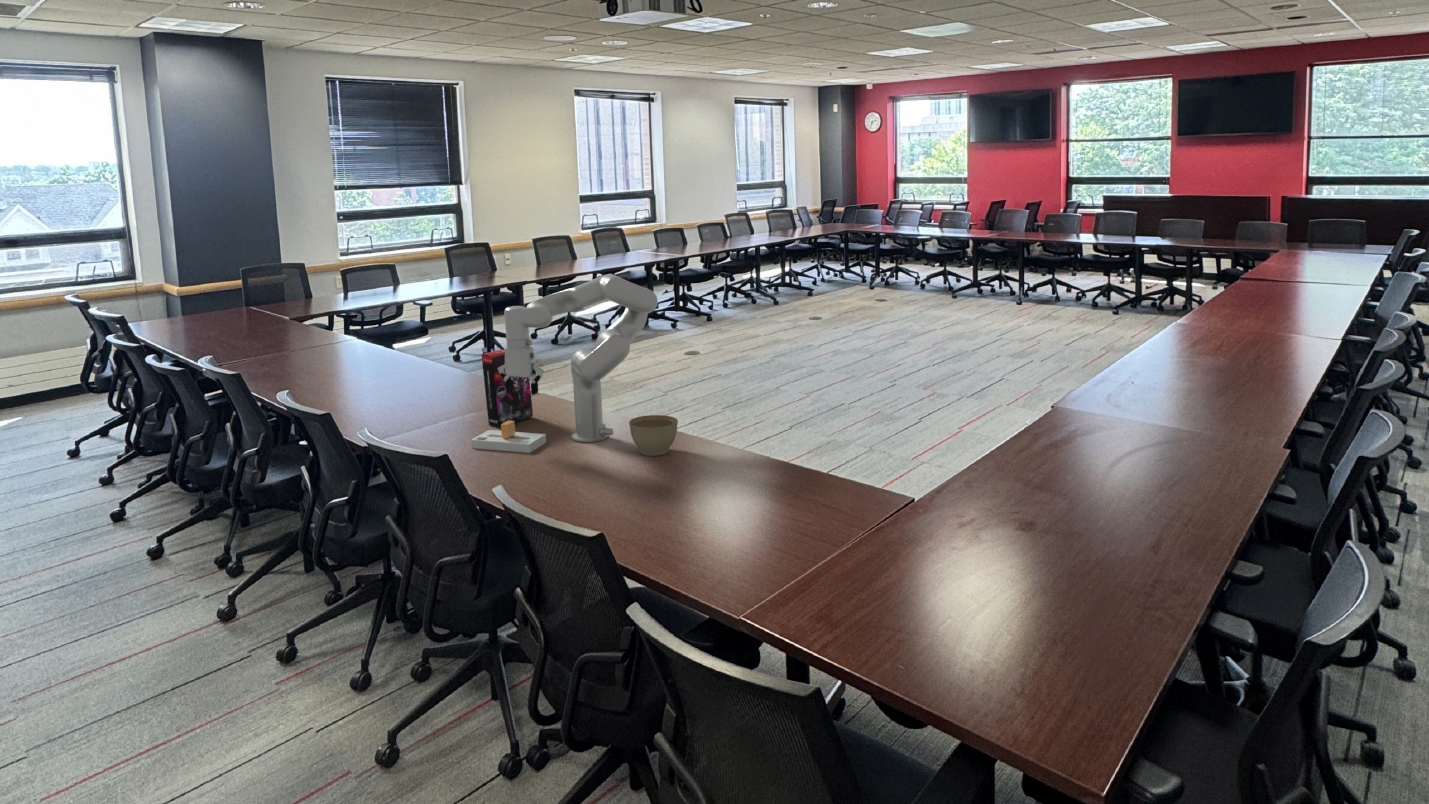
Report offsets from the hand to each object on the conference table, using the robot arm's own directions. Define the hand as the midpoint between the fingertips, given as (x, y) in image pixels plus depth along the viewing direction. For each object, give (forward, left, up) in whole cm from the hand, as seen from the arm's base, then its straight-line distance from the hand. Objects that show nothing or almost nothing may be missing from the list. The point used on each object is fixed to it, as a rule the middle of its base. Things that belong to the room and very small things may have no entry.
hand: (522, 392), depth 311 cm
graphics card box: (+20, -26, -19) cm, 38 cm away
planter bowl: (-46, -4, -19) cm, 50 cm away
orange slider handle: (+6, +1, -18) cm, 19 cm away
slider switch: (+6, +1, -19) cm, 20 cm away
